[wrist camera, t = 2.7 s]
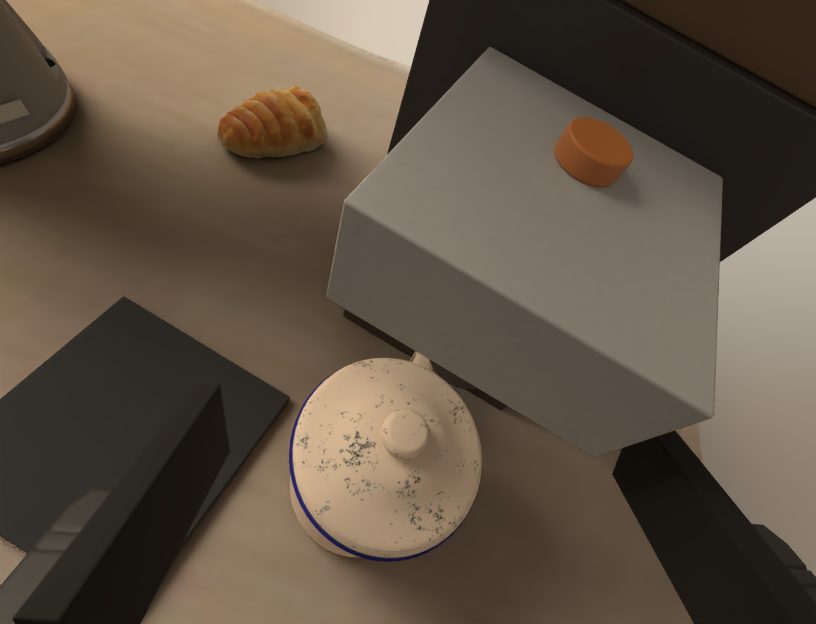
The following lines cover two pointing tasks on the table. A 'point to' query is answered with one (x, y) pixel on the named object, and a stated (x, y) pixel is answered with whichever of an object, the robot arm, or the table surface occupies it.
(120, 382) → the rubber mat
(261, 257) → the table surface
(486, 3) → the coffee maker
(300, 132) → the pastry
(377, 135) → the table surface
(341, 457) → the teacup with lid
